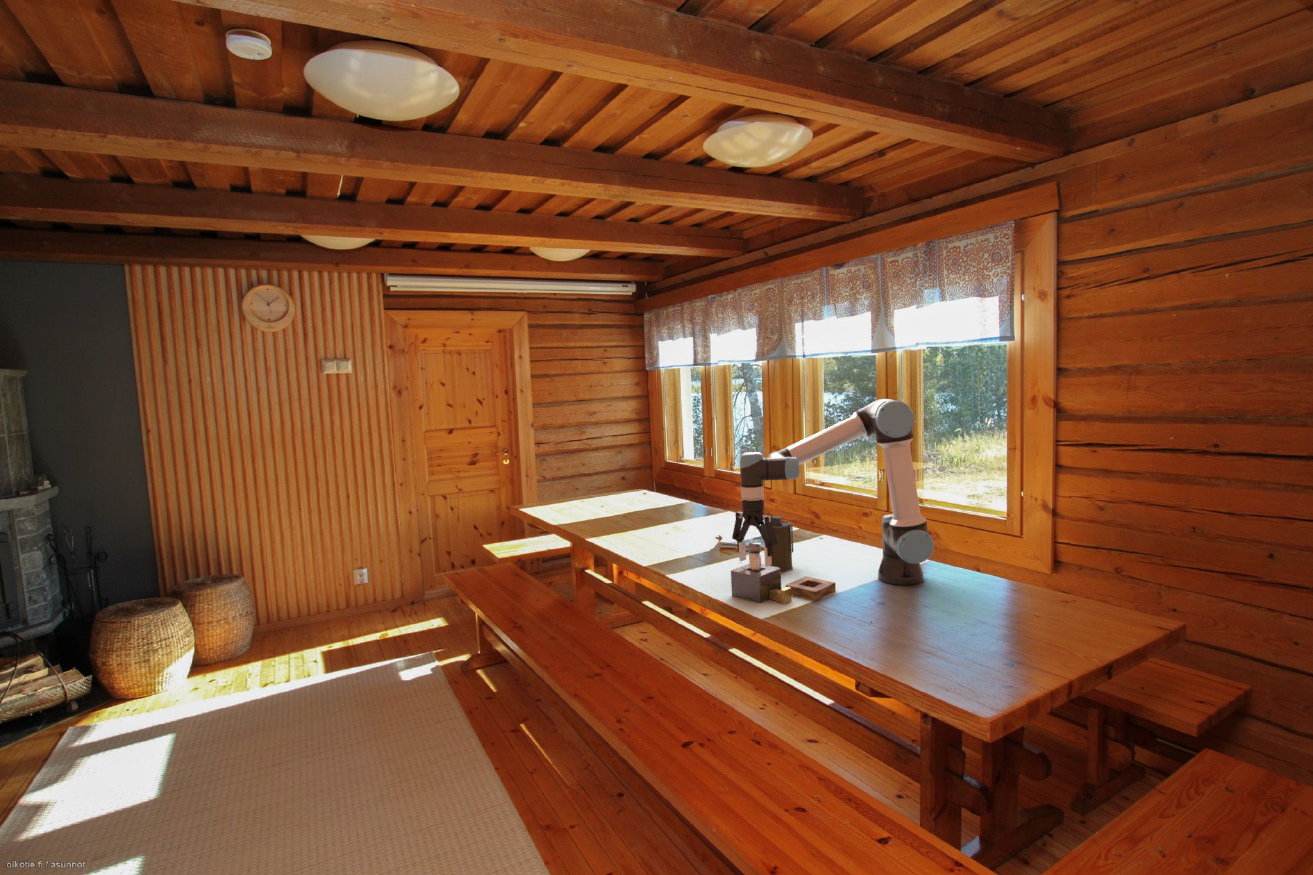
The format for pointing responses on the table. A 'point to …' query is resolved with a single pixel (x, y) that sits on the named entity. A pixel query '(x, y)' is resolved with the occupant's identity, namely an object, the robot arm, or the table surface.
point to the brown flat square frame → (811, 588)
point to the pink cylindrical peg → (755, 556)
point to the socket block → (755, 582)
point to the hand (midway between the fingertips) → (755, 562)
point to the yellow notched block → (780, 595)
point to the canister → (782, 544)
